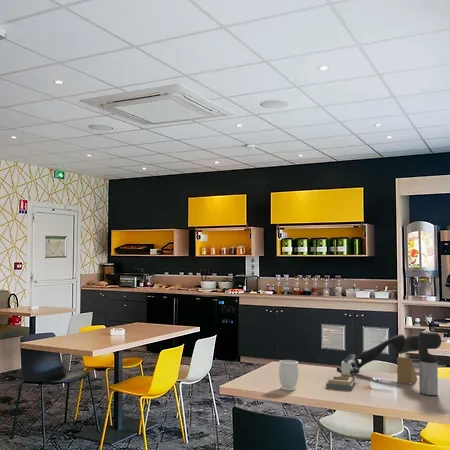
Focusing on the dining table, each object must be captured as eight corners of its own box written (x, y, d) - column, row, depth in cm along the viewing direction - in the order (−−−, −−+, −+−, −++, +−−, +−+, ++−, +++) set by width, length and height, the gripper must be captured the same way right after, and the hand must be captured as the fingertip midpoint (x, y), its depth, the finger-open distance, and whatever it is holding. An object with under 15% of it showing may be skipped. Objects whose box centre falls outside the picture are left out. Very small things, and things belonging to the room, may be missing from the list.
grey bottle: (351, 382, 314) (351, 359, 315) (350, 384, 309) (350, 360, 310) (342, 381, 316) (342, 358, 317) (341, 383, 311) (341, 360, 312)
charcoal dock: (354, 385, 306) (355, 377, 306) (351, 390, 293) (351, 382, 293) (330, 382, 311) (330, 375, 311) (326, 388, 298) (326, 379, 298)
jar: (275, 389, 291) (276, 361, 292) (282, 386, 300) (283, 358, 302) (294, 392, 286) (294, 363, 287) (300, 388, 296) (301, 360, 297)
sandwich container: (418, 380, 326) (418, 355, 327) (411, 384, 313) (411, 358, 314) (403, 378, 330) (403, 353, 331) (397, 382, 317) (397, 356, 318)
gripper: (337, 359, 329) (333, 364, 313) (361, 361, 324) (358, 366, 308) (337, 372, 329) (333, 377, 313) (361, 374, 323) (358, 379, 308)
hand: (345, 372), depth 310 cm, fingers closed on grey bottle, 5 cm apart
